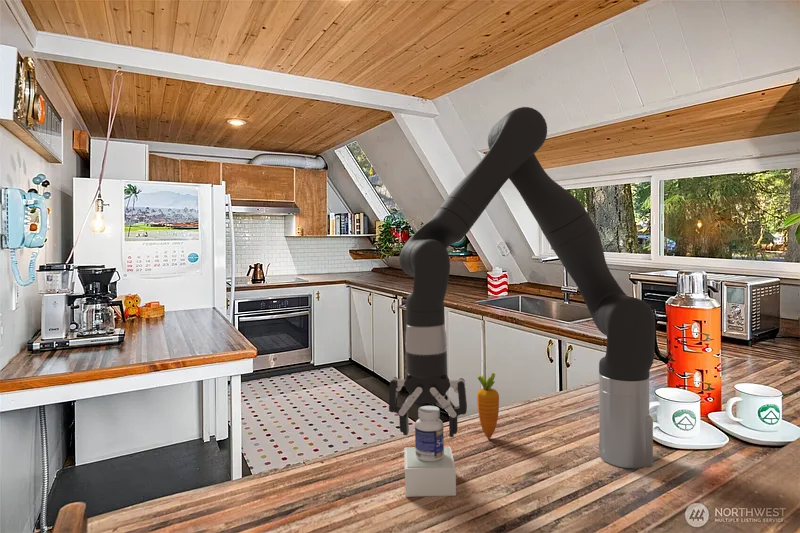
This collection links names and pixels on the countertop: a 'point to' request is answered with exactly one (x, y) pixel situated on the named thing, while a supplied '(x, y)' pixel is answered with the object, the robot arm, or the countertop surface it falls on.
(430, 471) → the pedestal
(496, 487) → the countertop surface
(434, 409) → the pill bottle
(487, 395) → the carrot
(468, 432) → the countertop surface
